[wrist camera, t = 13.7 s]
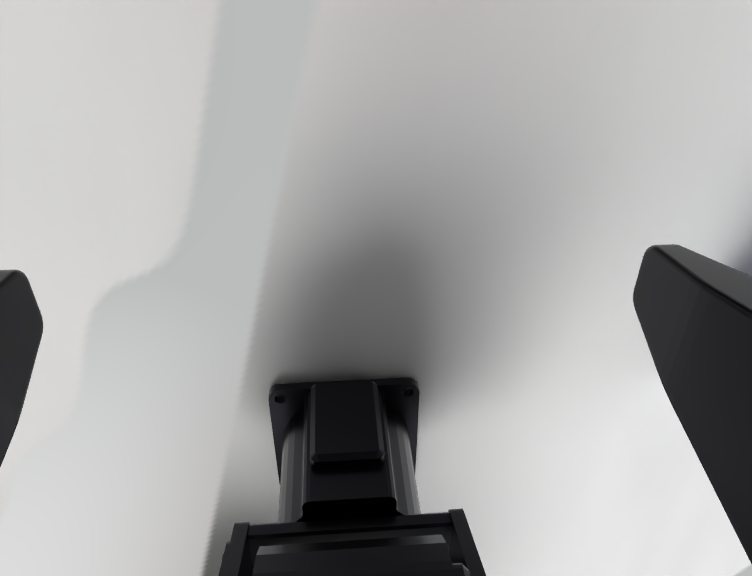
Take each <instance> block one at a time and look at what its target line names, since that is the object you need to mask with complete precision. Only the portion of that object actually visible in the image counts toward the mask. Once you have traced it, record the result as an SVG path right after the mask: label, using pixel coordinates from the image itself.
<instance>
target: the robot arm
mask: <svg viewBox="0 0 752 576" xmlns="http://www.w3.org/2000/svg"><path fill="white" fill-rule="evenodd" d="M633 302H634V307H635V310H636V313H637V316H638V319H639V321H640V324H641V327H642V330H643V332H644V335H645V338H646V341H647V344H648V346H649V349H650V352H651V355H652V357H653V360H654V363H655V366H656V369H657V371H658V374H659V377H660V379H661V382H662V384H663V387H664V389H665V391H666V393H667V396H668V398H669V400H670V402H671V404H672V406H673V408H674V410H675V412H676V414H677V416H678V418H679V420H680V422H681V424H682V426H683V428H684V430H685V432H686V434H687V436H688V438H689V440H690V442H691V444H692V446H693V448H694V450H695V452H696V454H697V456H698V458H699V460H700V462H701V464H702V466H703V468H704V470H705V472H706V474H707V476H708V478H709V480H710V482H711V484H712V486H713V488H714V490H715V492H716V494H717V496H718V498H719V500H720V502H721V504H722V506H723V508H724V510H725V512H726V514H727V516H728V518H729V520H730V522H731V524H732V526H733V528H734V530H735V532H736V534H737V536H738V538H739V540H740V542H741V544H742V546H743V548H744V550H745V552H746V554H747V556H748V558H749V560H750V562H751V564H752V277H751V276H749V275H747V274H744V273H742V272H740V271H737V270H735V269H733V268H731V267H728V266H726V265H724V264H721V263H719V262H717V261H714V260H712V259H710V258H707V257H705V256H703V255H701V254H698V253H696V252H694V251H691V250H689V249H687V248H684V247H682V246H680V245H674V244H672V245H653V246H651V247H649V248H648V249H647V250H646V252H645V254H644V256H643V260H642V263H641V267H640V270H639V274H638V277H637V281H636V285H635V288H634V293H633ZM42 333H43V320H42V316H41V313H40V310H39V307H38V305H37V302H36V299H35V297H34V294H33V291H32V289H31V286H30V283H29V281H28V279H27V277H26V275H25V274H24V273H23V272H21V271H19V270H0V466H1V464H2V462H3V459H4V457H5V454H6V452H7V449H8V447H9V444H10V442H11V439H12V437H13V434H14V432H15V429H16V426H17V424H18V421H19V417H20V414H21V411H22V408H23V404H24V400H25V397H26V393H27V389H28V385H29V382H30V378H31V374H32V370H33V367H34V363H35V359H36V356H37V352H38V348H39V344H40V341H41V337H42ZM406 388H411V389H410V390H407V391H406V390H404V389H406ZM277 395H283V397H278V396H277ZM269 406H270V414H271V422H272V429H273V437H274V445H275V452H276V460H277V467H278V475H279V483H280V500H279V517H278V523H270V524H254V525H250V523H249V522H246V523H235V524H234V528H233V532H232V537H231V541H230V542H227V544H226V548H225V552H224V554H223V558H222V564H221V568H220V573H219V576H486V574H485V571H484V568H483V566H482V563H481V560H480V557H479V554H478V551H477V548H476V545H475V542H474V540H473V537H472V534H471V531H470V528H469V525H468V522H467V519H466V516H465V514H464V511H463V509H452V510H449V511H448V512H443V513H427V514H421V513H420V506H419V500H418V493H417V487H416V480H415V465H416V445H417V426H418V406H419V388H418V383H417V381H416V380H414V379H412V378H391V379H371V380H352V381H332V382H312V383H292V384H278V385H275V386H273V387H272V388H271V389H270V391H269Z"/></svg>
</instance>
